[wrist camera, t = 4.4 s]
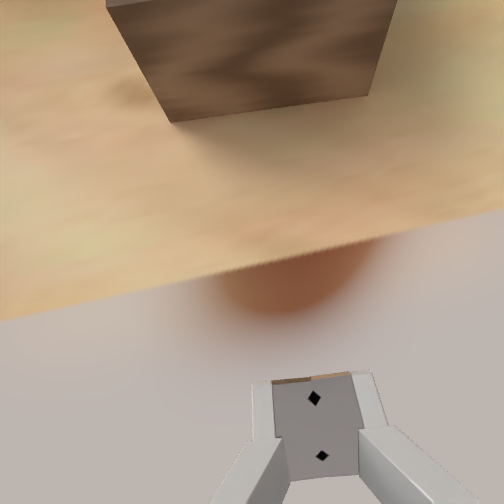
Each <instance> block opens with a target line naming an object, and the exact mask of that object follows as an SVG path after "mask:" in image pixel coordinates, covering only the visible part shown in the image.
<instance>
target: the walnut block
mask: <svg viewBox="0 0 504 504" xmlns="http://www.w3.org/2000/svg"><path fill="white" fill-rule="evenodd" d="M396 3H397V0H106V8H107V10H108V12H109V14H110V15H111V17H112V19H113V21H114V23H115V24H116V26H117V28H118V30H119V32H120V33H121V35H122V37H123V39H124V41H125V42H126V44H127V46H128V48H129V49H130V51H131V53H132V55H133V57H134V58H135V60H136V62H137V64H138V66H139V67H140V69H141V71H142V73H143V75H144V76H145V78H146V80H147V82H148V83H149V85H150V87H151V89H152V91H153V92H154V94H155V96H156V98H157V100H158V101H159V103H160V105H161V107H162V109H163V110H164V112H165V114H166V116H167V118H168V119H169V121H170V122H177V121H184V120H192V119H199V118H206V117H214V116H221V115H228V114H236V113H243V112H250V111H257V110H265V109H272V108H279V107H287V106H294V105H301V104H309V103H316V102H323V101H331V100H338V99H345V98H352V97H360V96H367V95H368V92H369V89H370V85H371V82H372V79H373V76H374V73H375V70H376V66H377V63H378V60H379V57H380V54H381V50H382V47H383V44H384V41H385V38H386V34H387V31H388V28H389V25H390V22H391V19H392V15H393V12H394V9H395V6H396Z"/></svg>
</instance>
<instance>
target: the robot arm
mask: <svg viewBox="0 0 504 504" xmlns="http://www.w3.org/2000/svg"><path fill="white" fill-rule="evenodd" d="M251 396H252V430H253V431H252V432H253V440H252V441H247V442H246V444H245V445H244V447H243V449H242V450H241V452H240V453H239V455H238V456H237V458H236V460H235V461H234V463H233V465H232V466H231V468H230V469H229V471H228V472H227V474H226V476H225V477H224V479H223V480H222V482H221V484H220V485H219V487H218V489H217V490H216V492H215V493H214V495H213V497H212V498H211V500H210V502H209V503H208V504H282V502H283V500H284V497H285V495H286V493H287V490H288V488H289V486H290V482H291V481H299V480H307V479H314V478H322V477H334V476H349V475H359V477H360V478H361V479H362V480H363V482H364V483H365V484H366V485H367V486H368V488H369V489H370V490H371V491H372V493H373V494H374V495H375V496H376V497H377V499H378V500H379V501H380V502H381V503H382V504H480V502H479V500H478V498H477V497H476V496H475V495H474V494H472V493H471V492H470V491H469V490H468V489H467V488H465V487H464V486H463V485H462V484H461V483H460V482H459V481H458V480H456V479H455V478H454V477H453V476H452V475H451V474H449V473H448V472H447V471H446V470H445V469H444V468H443V467H442V466H440V465H439V464H438V463H437V462H436V461H435V460H434V459H432V458H431V457H430V456H429V455H428V454H427V453H425V452H424V451H423V450H422V449H421V448H420V447H419V446H418V445H417V444H415V443H414V442H413V441H412V440H411V439H410V438H409V437H407V436H406V435H405V434H404V433H403V432H401V431H400V430H399V429H398V428H397V427H396V426H389V425H388V422H387V419H386V416H385V412H384V409H383V406H382V403H381V400H380V397H379V393H378V390H377V387H376V384H375V381H374V378H373V375H372V373H371V371H370V370H362V371H353V372H341V373H334V374H325V375H318V376H311V377H306V378H295V379H283V380H273V381H264V382H263V381H262V382H252V388H251Z"/></svg>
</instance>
